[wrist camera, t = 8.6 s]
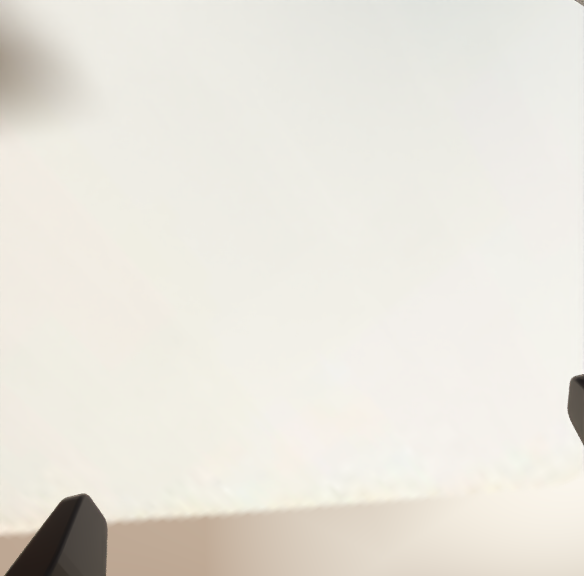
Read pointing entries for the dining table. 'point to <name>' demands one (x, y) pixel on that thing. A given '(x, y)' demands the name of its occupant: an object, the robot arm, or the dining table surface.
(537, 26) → the dining table surface
